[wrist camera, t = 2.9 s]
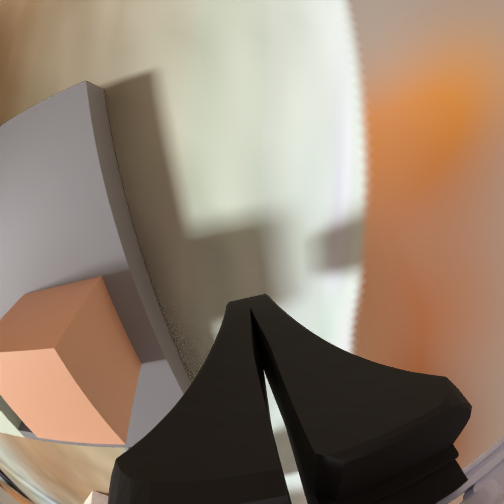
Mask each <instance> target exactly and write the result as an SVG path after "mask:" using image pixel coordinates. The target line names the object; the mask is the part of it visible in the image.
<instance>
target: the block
mask: <svg viewBox="0 0 504 504" xmlns="http://www.w3.org/2000/svg"><path fill="white" fill-rule="evenodd" d="M140 368H141V362H140V360H139V358H138V356H137V354H136V352H135V350H134V348H133V346H132V344H131V342H130V340H129V338H128V336H127V334H126V332H125V329H124V327H123V325H122V323H121V321H120V319H119V316H118V314H117V312H116V310H115V307H114V305H113V303H112V300H111V298H110V295H109V293H108V290H107V288H106V285H105V283H104V280H103V278H102V276H99V277H95V278H91V279H86V280H82V281H78V282H74V283H69V284H65V285H61V286H57V287H52V288H48V289H44V290H40V291H35V292H31V293H27V294H24V295H23V296H22V297H21V298H20V299H19V300H18V301H17V302H16V303H15V304H14V305H13V306H12V307H11V308H10V310H9V311H8V312H7V313H6V314H5V315H4V316H3V317H2V318H1V319H0V395H1V396H2V397H3V399H4V400H5V401H6V402H7V404H8V405H9V406H10V407H11V409H12V410H13V411H14V412H15V413H16V414H17V416H18V417H19V418H20V419H21V420H22V421H23V422H24V424H25V425H26V426H27V427H28V428H29V429H30V430H31V431H32V432H33V433H34V434H35V435H36V436H37V437H38V438H43V439H50V440H58V441H67V442H77V443H91V444H117V445H126V439H127V433H128V427H129V422H130V416H131V411H132V406H133V401H134V396H135V391H136V387H137V382H138V377H139V373H140Z"/></svg>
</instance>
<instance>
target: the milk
mask: <svg viewBox="0 0 504 504" xmlns="http://www.w3.org/2000/svg"><path fill="white" fill-rule="evenodd" d="M84 504H108V496H107V495H104V494H101V493H98V492H96V491H92V492H91V494H90V495H89V497H88V498H87V499H86V501H85V502H84Z"/></svg>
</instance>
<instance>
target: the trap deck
mask: <svg viewBox="0 0 504 504" xmlns="http://www.w3.org/2000/svg"><path fill="white" fill-rule="evenodd" d="M99 276H102V278H103V280H104V283H105V285H106V288H107V290H108V293H109V295H110V298H111V300H112V303H113V305H114V307H115V310H116V312H117V314H118V316H119V319H120V321H121V323H122V325H123V327H124V329H125V332H126V334H127V336H128V338H129V340H130V342H131V344H132V346H133V348H134V350H135V352H136V354H137V356H138V358H139V360H140V362H141V368H140V373H139V377H138V382H137V387H136V391H135V396H134V401H133V406H132V411H131V416H130V422H129V427H128V433H127V439H126V445H117V444H91V443H77V442H67V441H58V440H50V439H43V438H38V437H37V436H36V435H35V434H34V433H33V432H32V431H31V430H30V429H29V428H28V427H27V426H26V425H25V424H24V422H23V421H22V420H21V419H20V418H19V417H18V416H17V414H16V413H15V412H14V411H13V410H12V409H11V407H10V406H9V405H8V404H7V402H6V401H5V400H4V399H3V397H2V396H1V395H0V432H2V433H6V434H10V435H15V436H20V437H25V438H30V439H35V440H41V441H48V442H55V443H62V444H71V445H82V446H97V447H132V446H133V445H135V444H136V443H137V442H138V441H140V440H141V439H142V438H143V437H145V436H146V435H147V434H148V433H149V432H150V431H151V430H152V429H153V428H154V427H155V426H156V425H157V424H158V423H159V422H160V421H161V420H162V419H163V418H164V417H165V416H166V415H167V414H168V413H169V412H170V411H171V409H172V408H173V407H174V406H175V405H176V404H177V402H178V401H179V400H180V399H181V397H182V396H183V394H184V393H185V392H186V390H187V389H188V388H189V386H190V385H191V384H192V382H191V380H190V378H189V376H188V374H187V371H186V369H185V367H184V365H183V362H182V360H181V358H180V355H179V353H178V351H177V348H176V346H175V344H174V341H173V339H172V336H171V334H170V331H169V329H168V326H167V324H166V321H165V319H164V316H163V313H162V311H161V308H160V305H159V303H158V300H157V297H156V295H155V292H154V289H153V286H152V283H151V280H150V277H149V275H148V272H147V269H146V266H145V263H144V259H143V256H142V253H141V250H140V247H139V244H138V240H137V237H136V234H135V230H134V227H133V223H132V220H131V216H130V212H129V209H128V205H127V201H126V197H125V193H124V189H123V185H122V181H121V177H120V173H119V168H118V164H117V159H116V155H115V150H114V145H113V140H112V135H111V129H110V124H109V118H108V112H107V106H106V99H105V92H104V89H102V88H100V87H98V86H96V85H94V84H92V83H90V82H88V81H84V82H81V83H79V84H77V85H74V86H72V87H70V88H68V89H66V90H63V91H61V92H59V93H57V94H55V95H53V96H51V97H49V98H47V99H45V100H43V101H41V102H39V103H38V104H36V105H34V106H32V107H30V108H29V109H27V110H25V111H23V112H22V113H20V114H18V115H17V116H15V117H13V118H12V119H10V120H9V121H7V122H5V123H4V124H2V125H1V126H0V319H1V318H2V317H3V316H4V315H5V314H6V313H7V312H8V311H9V310H10V308H11V307H12V306H13V305H14V304H15V303H16V302H17V301H18V300H19V299H20V298H21V297H22V296H23V295H24V294H27V293H31V292H35V291H40V290H44V289H48V288H52V287H57V286H61V285H65V284H69V283H74V282H78V281H82V280H86V279H91V278H95V277H99Z"/></svg>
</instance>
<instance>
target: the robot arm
mask: <svg viewBox="0 0 504 504" xmlns="http://www.w3.org/2000/svg"><path fill="white" fill-rule="evenodd" d="M264 372H265V374H266V377H267V379H268V382H269V385H270V387H271V390H272V392H273V395H274V397H275V400H276V403H277V405H278V408H279V410H280V413H281V415H282V418H283V420H284V423H285V426H286V429H287V433H288V436H289V440H290V443H291V447H292V450H293V454H294V457H295V461H296V464H297V468H298V471H299V475H300V478H301V482H302V486H303V489H304V493H305V496H306V500H307V503H308V504H448V503H450V502H451V501H453V500H454V499H456V498H457V497H459V496H460V495H461V494H463V493H464V492H465V494H464V496H463V501H462V503H460V504H504V437H502V438H501V439H500V440H499V441H498V442H497V443H495V444H494V445H493V446H492V447H491V448H489V449H488V450H487V451H486V452H485V453H483V454H482V455H481V456H480V457H478V458H477V459H476V460H474V461H473V462H472V463H470V464H469V465H467V466H466V467H465V468H463V469H461V468H460V466H459V464H458V463H457V461H456V460H455V459H456V458H457V457H458V451H457V450H456V448H455V447H454V445H453V443H454V442H455V440H456V439H457V437H458V436H459V435H460V433H461V432H462V430H463V429H464V427H465V426H466V424H467V422H468V420H469V418H470V415H471V409H472V406H471V405H470V403H469V402H468V401H467V400H466V398H465V397H464V396H463V394H462V393H461V392H460V391H459V389H458V388H456V386H455V385H454V384H453V383H452V382H451V381H450V380H449V379H448V378H447V377H443V376H435V375H428V374H422V373H414V372H409V371H405V370H400V369H397V368H393V367H389V366H385V365H382V364H378V363H375V362H372V361H370V360H367V359H364V358H362V357H359V356H356V355H354V354H351V353H349V352H347V351H344V350H342V349H340V348H338V347H336V346H334V345H332V344H330V343H329V342H327V341H325V340H323V339H322V338H320V337H319V336H317V335H315V334H314V333H312V332H311V331H309V330H308V329H306V328H305V327H304V326H302V325H301V324H300V323H298V322H297V321H296V320H294V319H293V318H292V317H291V316H289V315H288V314H287V313H286V312H285V311H283V310H282V309H281V308H280V307H279V306H278V305H277V304H276V303H275V302H274V301H273V300H272V299H271V298H270V297H269V296H268V295H266V294H263V295H258V296H254V297H250V298H245V299H241V300H236V301H231V302H229V303H228V304H227V306H226V311H225V315H224V319H223V322H222V325H221V327H220V330H219V332H218V335H217V337H216V340H215V342H214V344H213V346H212V348H211V351H210V353H209V355H208V357H207V359H206V361H205V362H204V364H203V366H202V368H201V369H200V371H199V373H198V374H197V376H196V377H195V379H194V381H193V382H192V384H191V385H190V386H189V388H188V389H187V390H186V392H185V393H184V394H183V396H182V397H181V399H180V400H179V401H178V402H177V404H176V405H175V406H174V407H173V408H172V409H171V411H170V412H169V413H168V414H167V415H166V416H165V417H164V418H163V419H162V420H161V421H160V422H159V423H158V424H157V425H156V426H155V427H154V428H153V429H152V430H151V431H150V432H149V433H148V434H147V435H146V436H145V437H143V438H142V439H141V440H140V441H138V442H137V443H136V444H135V445H133V446H132V447H131V448H130V449H125V451H124V453H123V454H122V455H121V456H119V457H118V458H116V460H115V465H114V468H113V471H112V475H111V481H110V488H109V496H108V504H292V503H291V500H290V496H289V492H288V489H287V485H286V481H285V477H284V474H283V470H282V466H281V462H280V458H279V455H278V451H277V447H276V443H275V439H274V435H273V430H272V425H271V420H270V412H269V405H268V398H267V391H266V384H265V377H264ZM0 504H1V503H0Z"/></svg>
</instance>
